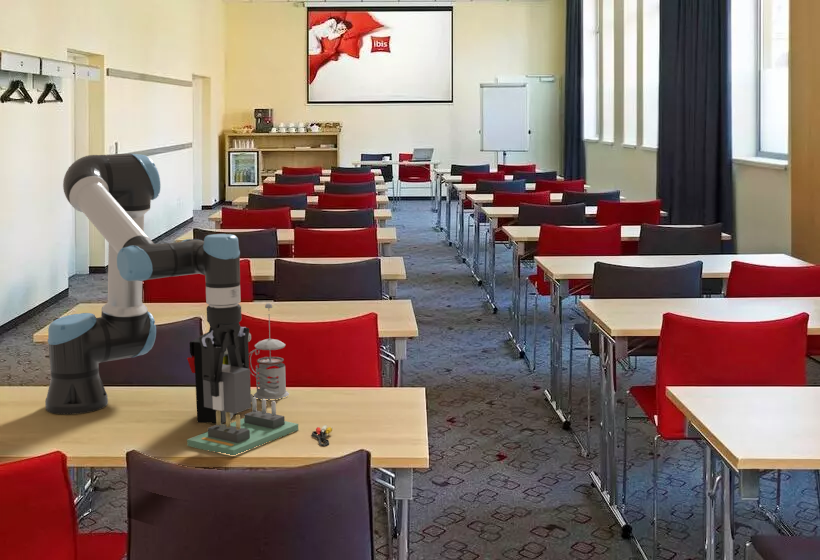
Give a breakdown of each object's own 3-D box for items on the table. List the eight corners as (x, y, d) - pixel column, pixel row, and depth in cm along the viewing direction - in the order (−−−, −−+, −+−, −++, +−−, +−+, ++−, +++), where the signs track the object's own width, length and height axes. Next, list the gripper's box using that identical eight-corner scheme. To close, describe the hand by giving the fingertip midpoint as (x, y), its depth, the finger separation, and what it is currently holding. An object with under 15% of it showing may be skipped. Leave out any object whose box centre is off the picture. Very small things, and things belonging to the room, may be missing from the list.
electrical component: (229, 424, 229) (226, 343, 226) (189, 422, 231) (186, 341, 228) (255, 403, 246) (252, 328, 243) (218, 401, 248) (215, 326, 245)
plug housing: (251, 408, 213) (249, 368, 212) (235, 413, 209) (234, 373, 208) (219, 401, 218) (218, 363, 217) (204, 406, 214) (202, 368, 213)
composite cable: (330, 447, 213) (329, 437, 213) (308, 447, 213) (308, 437, 213) (332, 433, 223) (332, 423, 222) (312, 433, 223) (312, 423, 222)
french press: (278, 402, 248) (276, 307, 244) (239, 397, 252) (236, 305, 248) (296, 392, 257) (294, 301, 253) (258, 388, 261) (255, 298, 257)
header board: (187, 445, 214) (185, 413, 213) (253, 420, 232) (252, 390, 231) (233, 457, 206) (232, 423, 205) (298, 429, 225) (297, 399, 223)
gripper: (206, 313, 201) (210, 419, 204) (264, 299, 215) (267, 399, 219) (181, 309, 205) (186, 414, 208) (239, 296, 220) (242, 394, 223)
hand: (227, 406), depth 214 cm, fingers closed on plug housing, 5 cm apart
